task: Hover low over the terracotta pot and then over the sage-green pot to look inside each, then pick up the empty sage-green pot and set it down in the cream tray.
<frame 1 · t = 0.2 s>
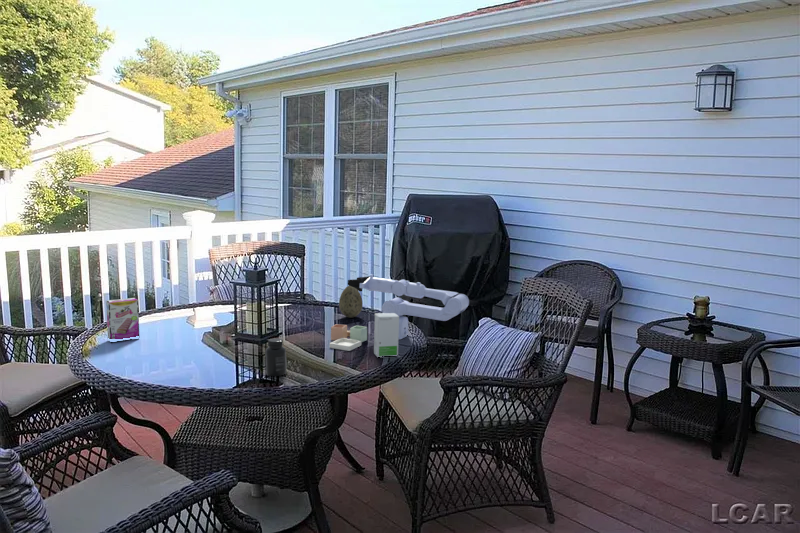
hand: (352, 281, 277), 21 cm above the table, tool horizontal, fingers open, 7 cm apart
pot green: (358, 340, 265), on the table
candy bar box: (124, 340, 260), on the table
cedar offcut: (352, 336, 272), on the table
decorative egg: (350, 317, 303), on the table
supplement bottle: (276, 374, 222), on the table
tray: (345, 346, 256), on the table
pot terracotta: (339, 339, 266), on the table, touching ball
skincare box: (386, 355, 246), on the table
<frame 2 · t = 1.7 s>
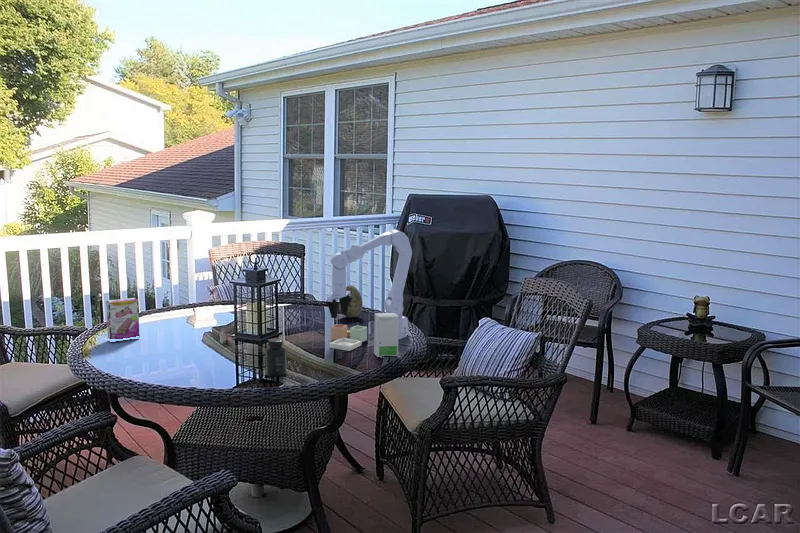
hand: (339, 316, 265), 10 cm above the table, tool pointing down, fingers open, 7 cm apart
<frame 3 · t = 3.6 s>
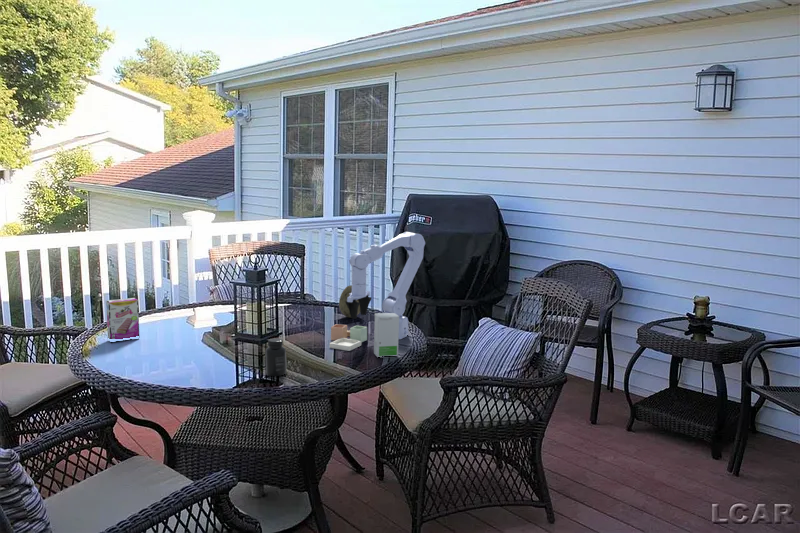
hand: (358, 316, 263), 10 cm above the table, tool pointing down, fingers open, 7 cm apart
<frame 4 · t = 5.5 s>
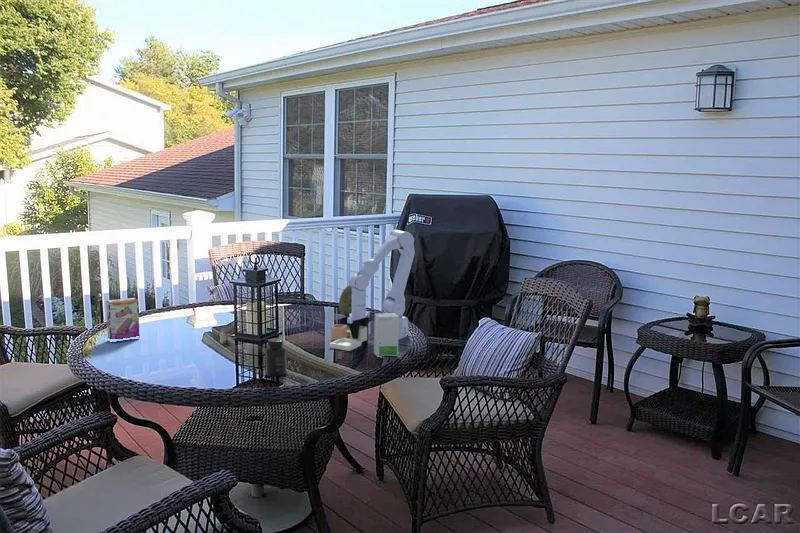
hand: (358, 337, 264), 1 cm above the table, tool pointing down, fingers closed on pot green, 5 cm apart
pot green: (358, 340, 265), on the table, touching gripper
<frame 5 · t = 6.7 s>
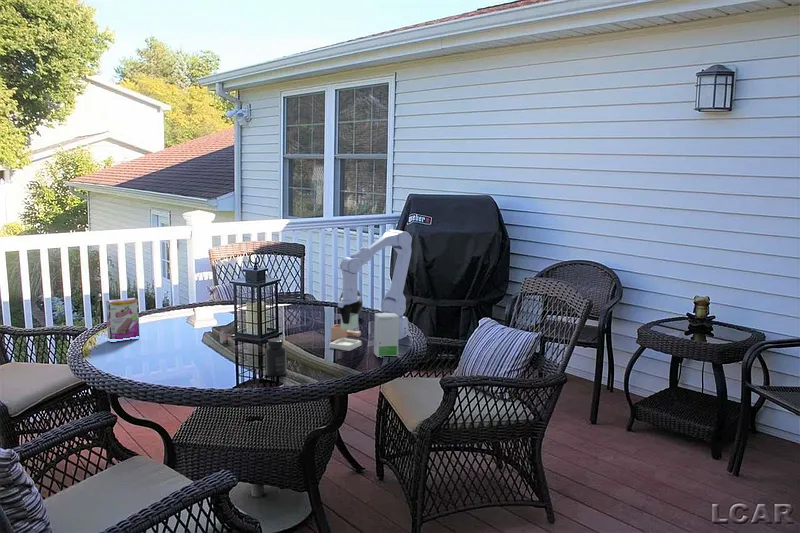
hand: (349, 322, 257), 9 cm above the table, tool pointing down, fingers closed on pot green, 5 cm apart
pot green: (349, 328, 258), point 7 cm above the table, touching gripper
everything else where it was.
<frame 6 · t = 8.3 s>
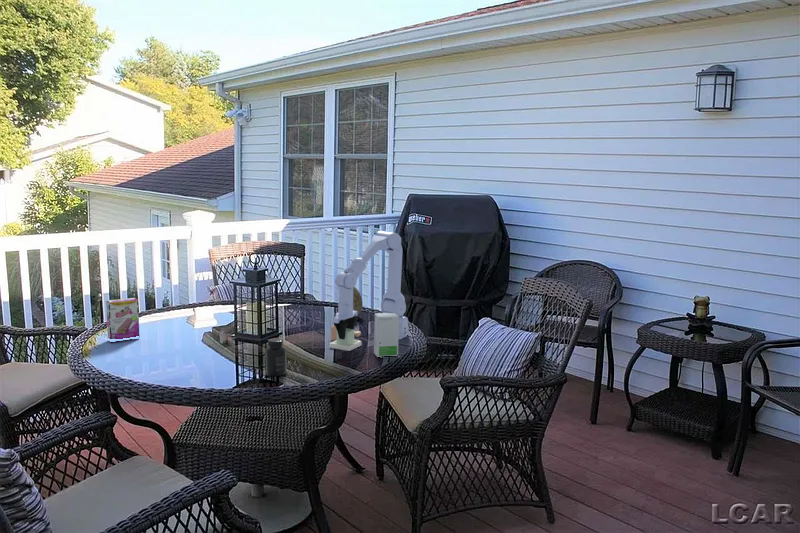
hand: (345, 337, 255), 4 cm above the table, tool pointing down, fingers closed on pot green, 5 cm apart
pot green: (345, 343, 256), point 1 cm above the table, touching gripper
when the fingers open (4 cm above the table, at t = 8.4 s): pot green stays where it is, resting on tray.
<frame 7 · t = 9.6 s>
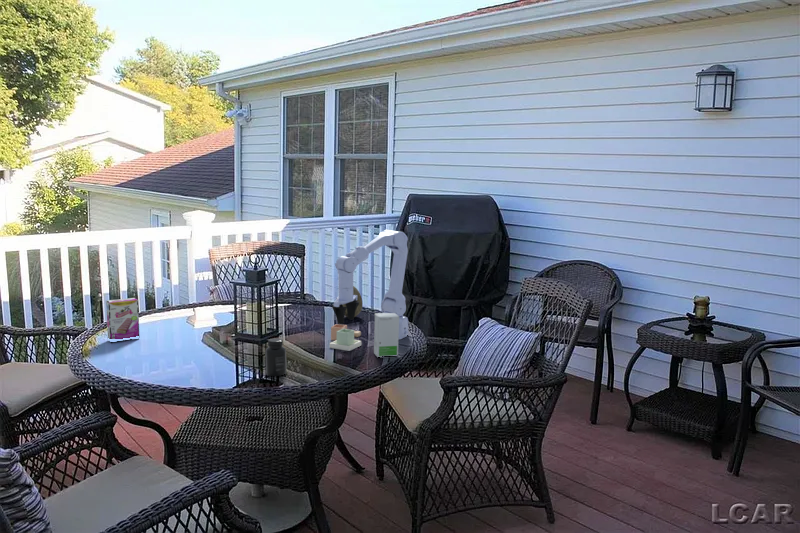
hand: (345, 321, 255), 10 cm above the table, tool pointing down, fingers open, 7 cm apart
pot green: (345, 344, 256), point 1 cm above the table, touching tray
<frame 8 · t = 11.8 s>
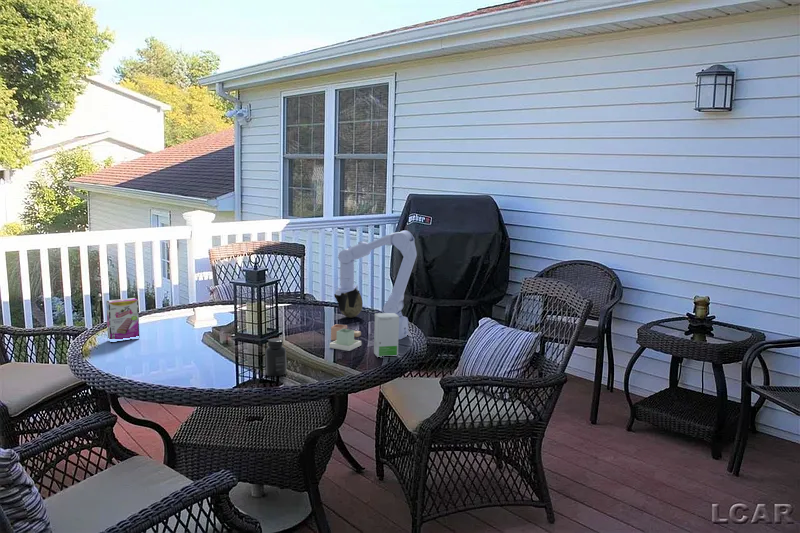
hand: (347, 309, 276), 10 cm above the table, tool pointing down, fingers open, 7 cm apart
at the end: pot green 0.1 cm off-centre on the tray, point 0.8 cm above the tray's base; pot green tilted 0°; the gripper is holding nothing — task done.
